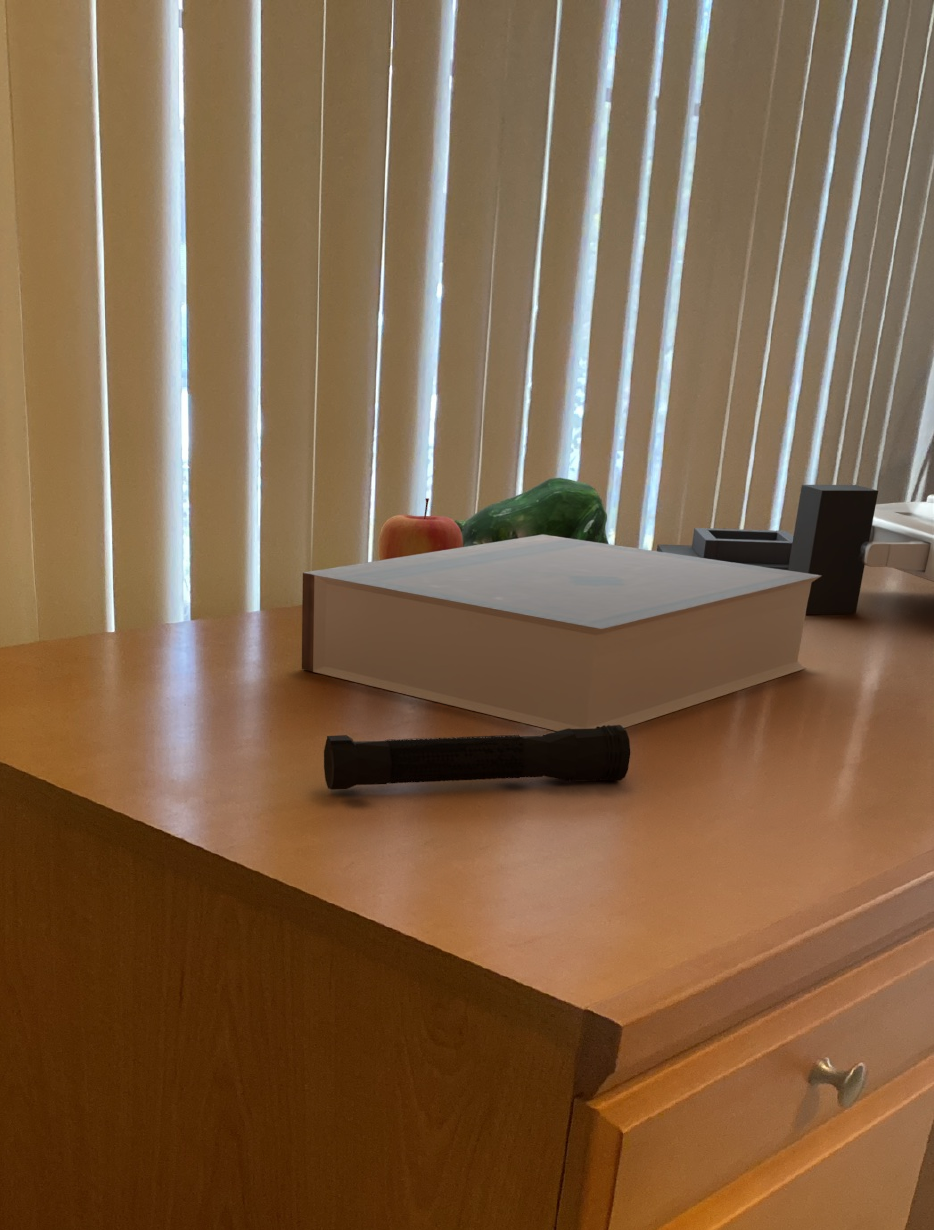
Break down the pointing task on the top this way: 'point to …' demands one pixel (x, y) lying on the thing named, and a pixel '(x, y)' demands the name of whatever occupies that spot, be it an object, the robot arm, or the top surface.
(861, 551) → the robot arm
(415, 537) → the apple
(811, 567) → the dark grey block
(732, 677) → the book
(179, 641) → the top surface
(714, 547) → the base pad
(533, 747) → the flashlight
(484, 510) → the green pepper
